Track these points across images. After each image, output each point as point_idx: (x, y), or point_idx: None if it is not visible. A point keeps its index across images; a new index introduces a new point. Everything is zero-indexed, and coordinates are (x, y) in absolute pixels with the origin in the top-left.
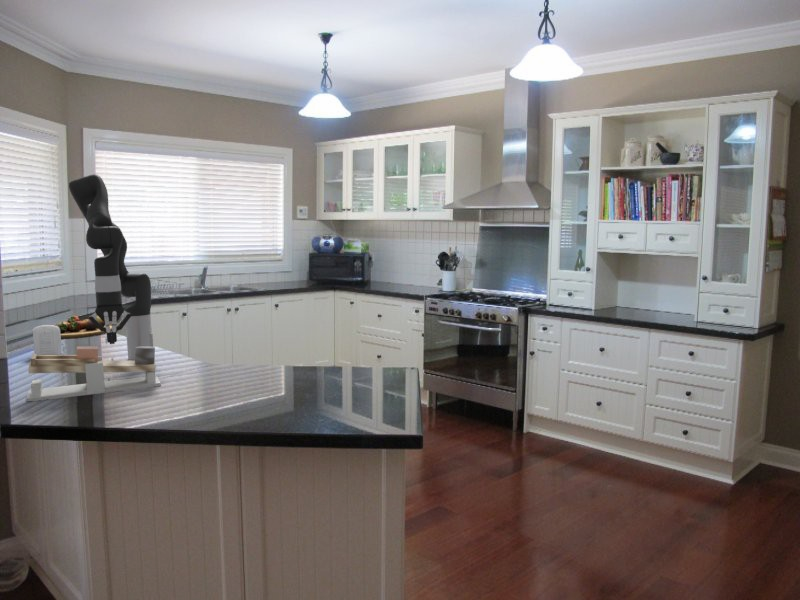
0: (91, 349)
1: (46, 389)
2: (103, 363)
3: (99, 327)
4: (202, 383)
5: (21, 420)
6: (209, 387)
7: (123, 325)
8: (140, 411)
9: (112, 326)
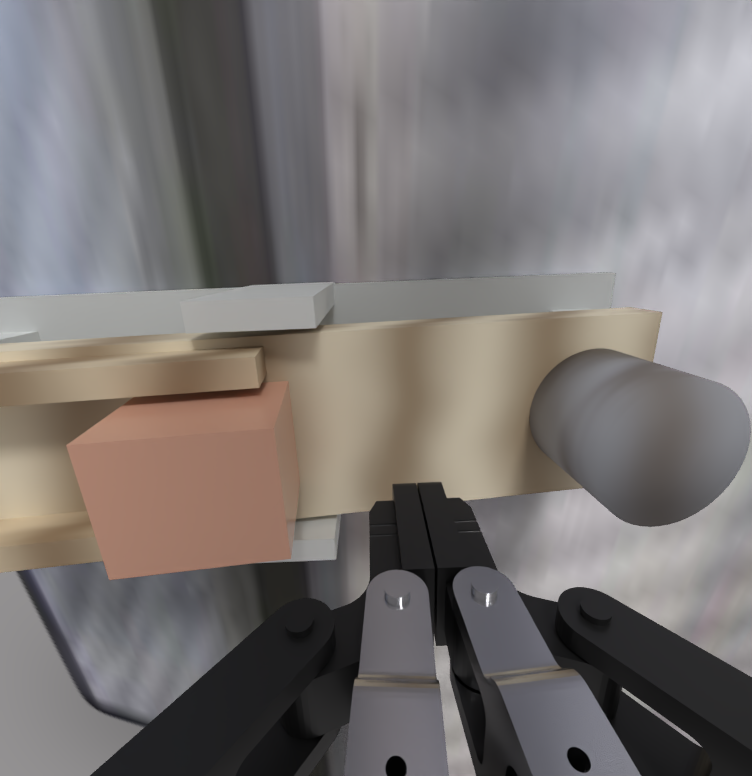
0: (237, 561)
1: (58, 332)
2: (335, 439)
3: (265, 763)
4: (744, 485)
5: (114, 681)
6: (736, 558)
7: (655, 750)
8: (453, 723)
9: (475, 752)
